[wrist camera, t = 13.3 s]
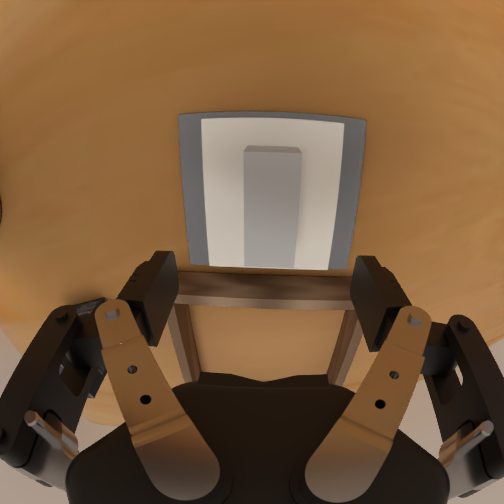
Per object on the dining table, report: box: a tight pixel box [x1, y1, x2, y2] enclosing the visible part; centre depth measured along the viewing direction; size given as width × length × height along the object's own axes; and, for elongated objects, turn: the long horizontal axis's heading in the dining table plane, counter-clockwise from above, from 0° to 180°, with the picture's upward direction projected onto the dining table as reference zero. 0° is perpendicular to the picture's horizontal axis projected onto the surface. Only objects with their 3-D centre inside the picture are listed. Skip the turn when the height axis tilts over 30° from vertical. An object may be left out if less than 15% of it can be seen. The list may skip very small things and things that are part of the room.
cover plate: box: [201, 117, 344, 270], centre depth 20 cm, size 10×12×4 cm
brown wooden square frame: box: [167, 271, 363, 387], centre depth 28 cm, size 18×18×4 cm
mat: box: [178, 111, 366, 269], centre depth 22 cm, size 14×13×1 cm
